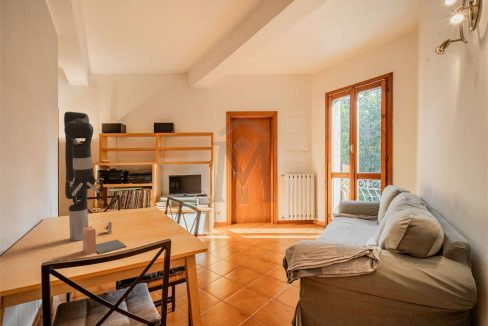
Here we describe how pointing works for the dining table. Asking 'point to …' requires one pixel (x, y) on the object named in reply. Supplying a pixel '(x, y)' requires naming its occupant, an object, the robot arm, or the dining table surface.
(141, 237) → the dining table surface
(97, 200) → the robot arm
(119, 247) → the mat
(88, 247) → the pink rectangular block
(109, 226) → the architectural model
